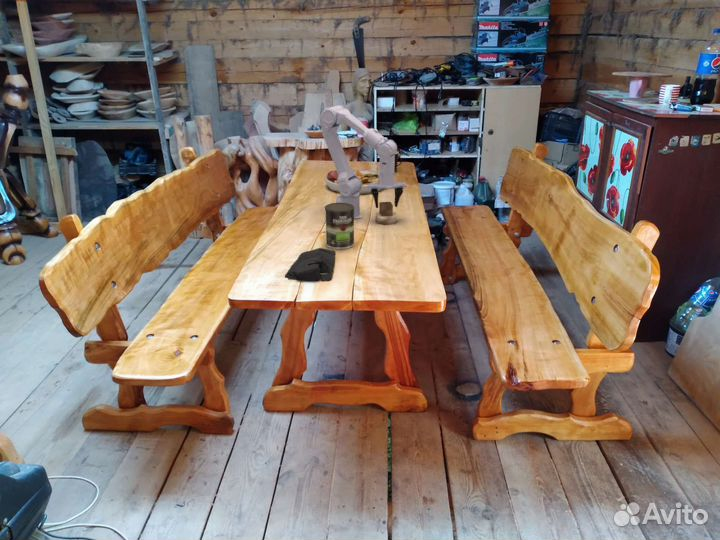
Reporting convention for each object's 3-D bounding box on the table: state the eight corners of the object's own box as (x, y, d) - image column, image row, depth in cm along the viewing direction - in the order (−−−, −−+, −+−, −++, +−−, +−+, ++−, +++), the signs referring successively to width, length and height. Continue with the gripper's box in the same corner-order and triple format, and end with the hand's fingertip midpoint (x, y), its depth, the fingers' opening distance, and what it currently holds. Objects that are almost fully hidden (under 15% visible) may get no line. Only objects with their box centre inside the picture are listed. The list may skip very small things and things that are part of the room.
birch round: (377, 226, 217) (377, 217, 215) (375, 219, 224) (375, 211, 223) (397, 225, 217) (397, 217, 216) (394, 218, 225) (395, 210, 223)
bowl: (387, 179, 280) (387, 163, 277) (388, 196, 253) (389, 179, 250) (328, 179, 281) (327, 163, 278) (323, 196, 254) (323, 179, 250)
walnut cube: (381, 216, 217) (381, 205, 215) (379, 213, 221) (379, 202, 219) (392, 215, 217) (392, 205, 215) (390, 212, 221) (390, 201, 219)
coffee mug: (379, 170, 296) (380, 151, 292) (394, 168, 299) (395, 150, 294) (387, 175, 286) (387, 156, 282) (402, 174, 288) (403, 154, 284)
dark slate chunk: (342, 256, 189) (342, 243, 187) (330, 284, 170) (329, 270, 168) (299, 254, 192) (298, 241, 190) (281, 281, 172) (280, 267, 170)
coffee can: (357, 247, 196) (357, 209, 190) (329, 250, 193) (328, 212, 187) (350, 237, 205) (350, 201, 199) (323, 240, 202) (322, 203, 196)
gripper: (370, 176, 208) (370, 210, 213) (407, 174, 210) (406, 208, 215) (367, 171, 214) (367, 205, 220) (403, 170, 216) (402, 203, 222)
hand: (386, 206), depth 218 cm, fingers open, 7 cm apart
